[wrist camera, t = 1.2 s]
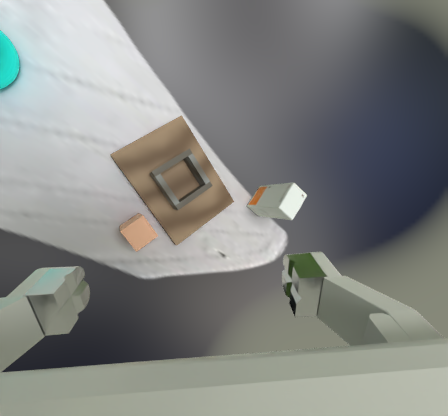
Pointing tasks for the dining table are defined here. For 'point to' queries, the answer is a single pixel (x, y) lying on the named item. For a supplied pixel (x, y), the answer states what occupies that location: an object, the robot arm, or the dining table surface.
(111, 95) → the dining table surface
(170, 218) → the sleeve stand
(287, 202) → the skincare box
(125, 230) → the terracotta peg
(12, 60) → the donuts
